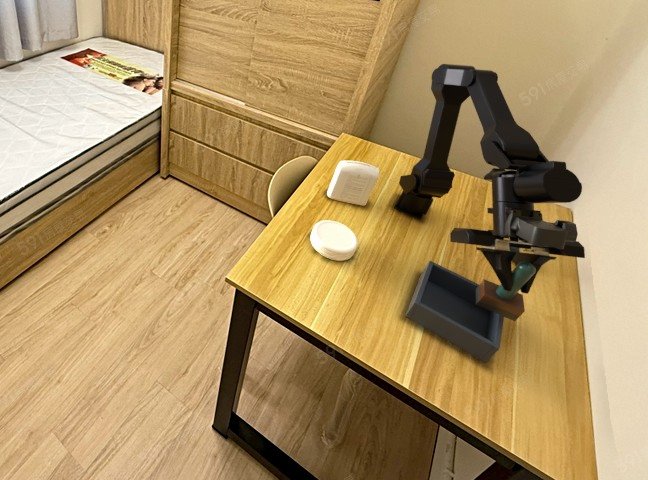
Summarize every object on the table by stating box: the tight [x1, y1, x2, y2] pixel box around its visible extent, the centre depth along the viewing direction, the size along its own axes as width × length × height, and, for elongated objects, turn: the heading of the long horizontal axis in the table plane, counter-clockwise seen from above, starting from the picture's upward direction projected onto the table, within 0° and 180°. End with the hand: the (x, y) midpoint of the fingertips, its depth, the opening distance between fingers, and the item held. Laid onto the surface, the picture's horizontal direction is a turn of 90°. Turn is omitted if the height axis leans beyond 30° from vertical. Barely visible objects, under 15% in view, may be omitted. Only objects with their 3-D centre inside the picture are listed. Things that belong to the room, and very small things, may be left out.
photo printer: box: [326, 160, 380, 207], centre depth 107 cm, size 10×4×12 cm, turn 73°
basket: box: [404, 260, 505, 364], centre depth 81 cm, size 14×14×5 cm
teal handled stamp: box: [476, 262, 536, 322], centre depth 73 cm, size 6×4×12 cm, turn 57°
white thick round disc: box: [309, 219, 359, 262], centre depth 96 cm, size 10×10×4 cm
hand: (516, 292), depth 71 cm, fingers closed on teal handled stamp, 2 cm apart
